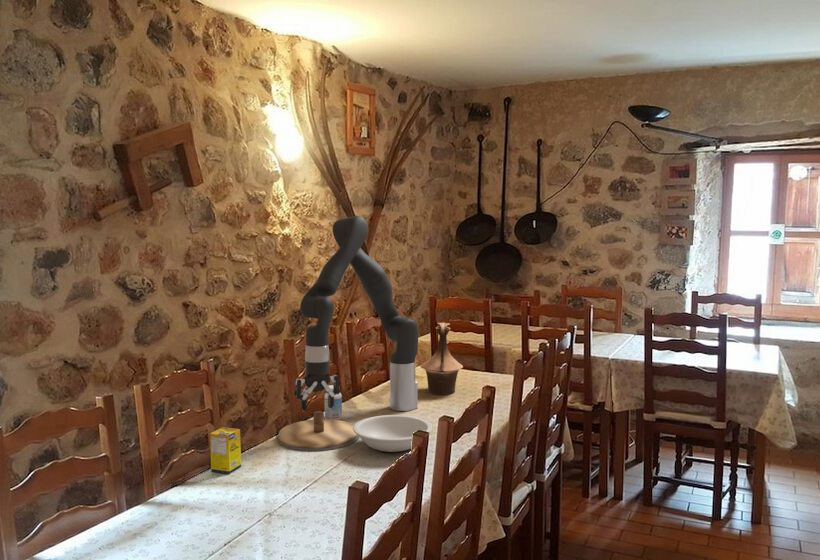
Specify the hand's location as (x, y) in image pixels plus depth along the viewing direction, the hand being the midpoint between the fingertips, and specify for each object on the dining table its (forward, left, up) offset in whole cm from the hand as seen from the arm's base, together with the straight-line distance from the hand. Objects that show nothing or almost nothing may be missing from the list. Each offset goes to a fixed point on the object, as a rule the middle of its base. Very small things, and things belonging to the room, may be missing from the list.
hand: (317, 409), depth 209 cm
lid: (0, 0, -8) cm, 8 cm away
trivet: (0, 0, -9) cm, 9 cm away
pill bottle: (-11, -16, -9) cm, 21 cm away
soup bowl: (-17, +20, -9) cm, 28 cm away
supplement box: (+32, +14, -9) cm, 36 cm away
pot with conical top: (-62, -29, -9) cm, 69 cm away
